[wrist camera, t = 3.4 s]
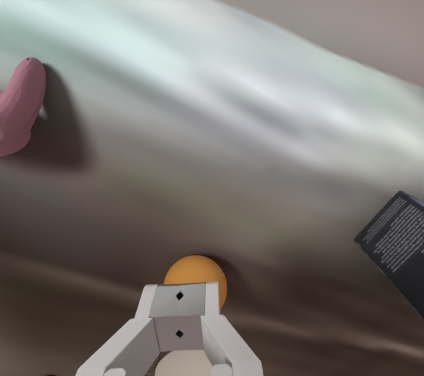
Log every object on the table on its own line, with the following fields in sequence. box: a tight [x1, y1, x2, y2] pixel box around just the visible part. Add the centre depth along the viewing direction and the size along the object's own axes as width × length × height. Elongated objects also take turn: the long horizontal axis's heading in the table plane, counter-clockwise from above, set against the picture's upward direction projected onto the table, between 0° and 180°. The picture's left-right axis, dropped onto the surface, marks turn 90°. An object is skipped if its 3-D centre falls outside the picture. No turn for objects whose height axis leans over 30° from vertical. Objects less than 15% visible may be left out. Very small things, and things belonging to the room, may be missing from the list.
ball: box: [164, 255, 227, 310], centre depth 23 cm, size 6×6×6 cm
